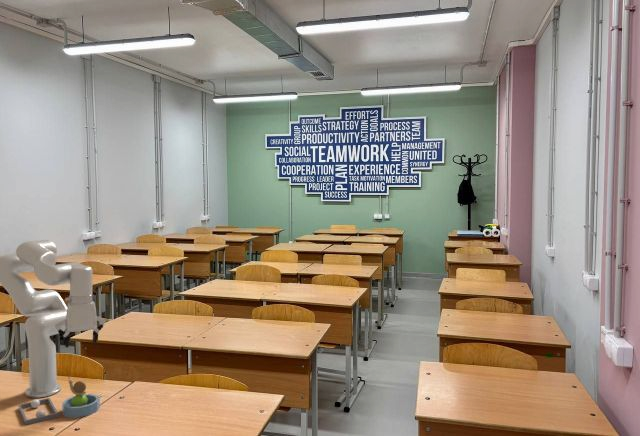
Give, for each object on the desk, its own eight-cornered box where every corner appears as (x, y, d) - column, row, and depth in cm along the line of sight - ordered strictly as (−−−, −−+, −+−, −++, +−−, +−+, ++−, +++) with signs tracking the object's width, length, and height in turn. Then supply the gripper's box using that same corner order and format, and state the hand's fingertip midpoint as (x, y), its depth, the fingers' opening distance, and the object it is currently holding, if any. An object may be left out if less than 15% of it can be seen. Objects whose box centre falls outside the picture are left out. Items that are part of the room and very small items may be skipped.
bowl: (59, 408, 187) (59, 399, 187) (94, 400, 194) (94, 391, 194) (67, 420, 178) (66, 410, 177) (103, 411, 185) (102, 402, 185)
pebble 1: (30, 407, 188) (29, 399, 188) (39, 405, 190) (39, 397, 190) (31, 410, 186) (31, 402, 186) (40, 407, 188) (40, 400, 187)
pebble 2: (35, 417, 179) (34, 409, 179) (44, 415, 181) (44, 407, 181) (36, 421, 177) (36, 412, 177) (46, 418, 179) (46, 410, 179)
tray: (18, 408, 187) (18, 404, 187) (49, 401, 193) (49, 397, 193) (25, 425, 174) (25, 420, 174) (58, 417, 180) (58, 412, 180)
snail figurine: (72, 405, 188) (72, 374, 187) (90, 405, 188) (89, 374, 188) (65, 412, 183) (65, 379, 182) (83, 412, 183) (83, 379, 182)
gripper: (56, 304, 180) (56, 351, 181) (108, 299, 190) (107, 343, 191) (53, 299, 186) (53, 345, 187) (103, 294, 196) (102, 338, 197)
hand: (80, 344), depth 189 cm, fingers open, 9 cm apart
